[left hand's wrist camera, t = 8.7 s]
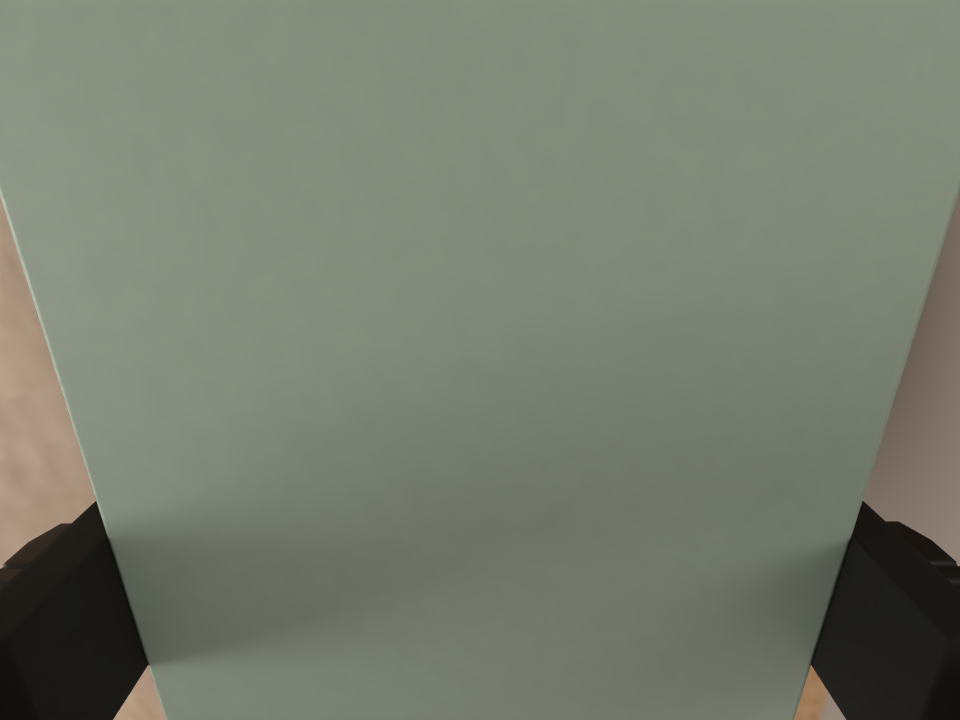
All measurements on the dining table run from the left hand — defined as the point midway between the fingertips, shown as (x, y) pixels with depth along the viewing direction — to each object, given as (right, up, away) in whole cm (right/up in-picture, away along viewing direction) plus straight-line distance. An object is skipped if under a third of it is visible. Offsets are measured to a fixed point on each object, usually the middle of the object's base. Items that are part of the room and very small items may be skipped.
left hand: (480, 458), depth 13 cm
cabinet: (0, +7, +1) cm, 7 cm away
